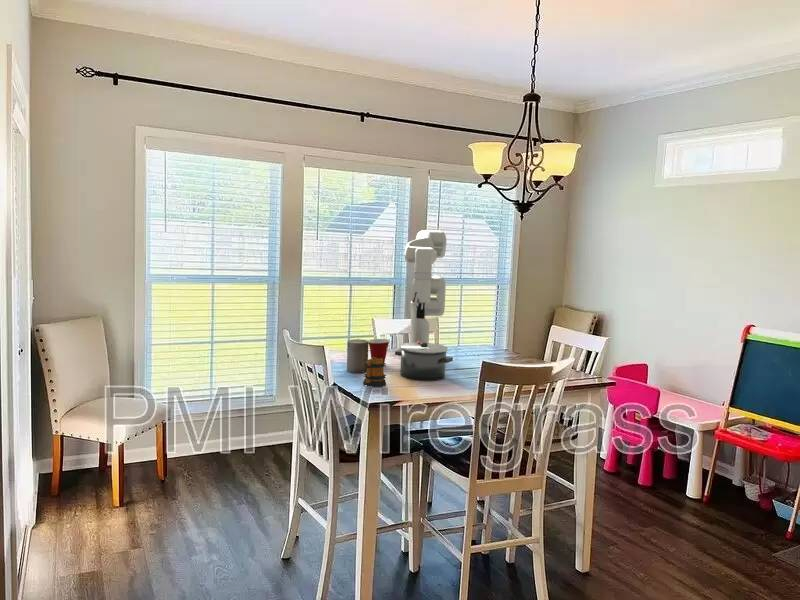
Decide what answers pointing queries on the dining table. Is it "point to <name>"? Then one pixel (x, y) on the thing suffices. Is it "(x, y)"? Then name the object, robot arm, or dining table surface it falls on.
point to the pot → (423, 365)
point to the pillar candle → (357, 355)
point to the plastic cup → (378, 348)
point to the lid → (424, 347)
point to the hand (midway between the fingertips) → (420, 318)
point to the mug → (375, 373)
